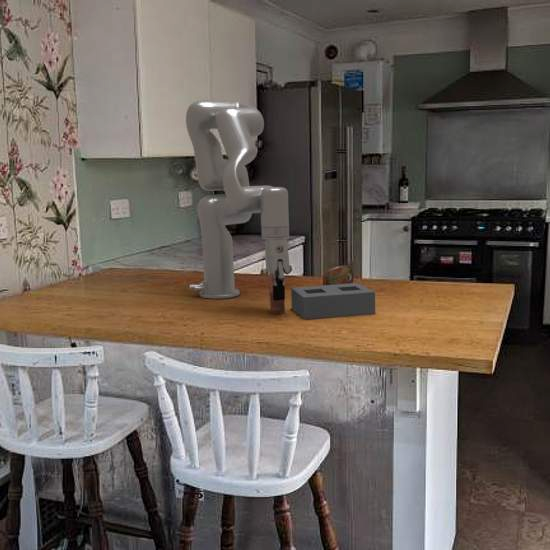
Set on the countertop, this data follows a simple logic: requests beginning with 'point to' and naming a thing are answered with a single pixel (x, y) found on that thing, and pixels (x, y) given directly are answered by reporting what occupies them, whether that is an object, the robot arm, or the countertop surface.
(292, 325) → the countertop surface
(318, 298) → the bore block
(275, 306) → the pin
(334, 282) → the tin
